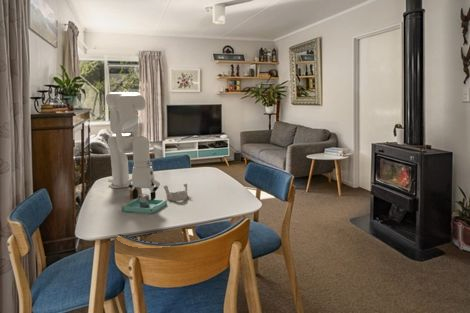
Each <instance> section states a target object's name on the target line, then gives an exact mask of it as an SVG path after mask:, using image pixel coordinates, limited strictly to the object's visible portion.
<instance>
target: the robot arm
mask: <svg viewBox="0 0 470 313" xmlns="http://www.w3.org/2000/svg"><path fill="white" fill-rule="evenodd" d="M105 102H106V105H107V107H108V109H109V126H110V132H111V133H113V134H111V135H110V136H109V137H108V139H107V145H108V148H109V156H110V163H111V164H110V165H111V176H112V178H111V177H110V178H108V179H107V182H108V183H110V184H109V185H110V187H111V188H113V189H123V188H124V189H125V188H128V187H129V190H130V189H131V191H132V195H133V199H132V200H135V198H137V197H138V192H137V189H136V188H142V189H149V190H150V193H149V194H150V195H149V196H150V199H151V200H154V199H157V198H156V197H157V196H156V194H157V193H156V191H158V189H159V187H160V183H161V182H159V181H157V180H156V178H155V173H154V169H153V162H151V157H150V156H151V155H150V154H151V153H150V143H149V142H150V141H149V139H148V138H147V137H145V136H143V135H139V134H140V132H139V130H140V129H139V116H138V113H137V111H144V110H146V109H145V108H146V106H147V104H146V103H147V102H146V99H145V98H144V95H143V94H141V93H139V92H137V91H136V92H135V91H134V92H132V91H130V92H129V91H126V92H125V91H123V92H121V91H119V92H117V91H116V92H115V91H114V92H109V93H107V94H106V95H105ZM126 153H132V159H133V160H132V161H133V167H132V170H131V171H132V172H131V179H130V173H129V162H128V160H129V159H128V156H127V154H126Z"/></svg>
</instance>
